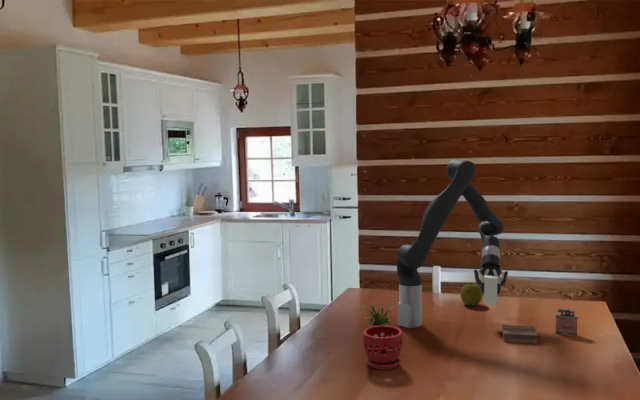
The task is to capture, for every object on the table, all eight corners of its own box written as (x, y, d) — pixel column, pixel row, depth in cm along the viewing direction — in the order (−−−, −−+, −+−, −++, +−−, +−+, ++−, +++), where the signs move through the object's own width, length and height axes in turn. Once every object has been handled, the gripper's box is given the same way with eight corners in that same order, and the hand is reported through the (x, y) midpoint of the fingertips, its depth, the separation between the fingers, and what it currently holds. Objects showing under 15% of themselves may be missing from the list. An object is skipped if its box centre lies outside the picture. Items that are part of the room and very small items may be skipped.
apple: (465, 301, 291) (465, 278, 290) (485, 304, 286) (485, 281, 285) (457, 305, 283) (457, 282, 282) (477, 308, 278) (477, 285, 277)
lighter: (577, 334, 238) (578, 309, 237) (577, 336, 235) (577, 311, 234) (555, 331, 241) (555, 307, 240) (554, 334, 238) (555, 309, 237)
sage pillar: (496, 305, 246) (497, 278, 245) (483, 304, 247) (484, 277, 246) (496, 302, 251) (497, 275, 250) (483, 301, 252) (484, 275, 251)
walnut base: (537, 343, 227) (537, 335, 227) (503, 341, 230) (503, 333, 230) (534, 334, 239) (534, 326, 238) (502, 332, 242) (502, 324, 241)
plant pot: (362, 358, 214) (362, 325, 213) (400, 358, 213) (400, 324, 212) (364, 372, 201) (363, 336, 200) (404, 372, 200) (404, 336, 199)
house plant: (351, 348, 225) (351, 304, 223) (362, 337, 238) (361, 296, 236) (389, 352, 220) (389, 307, 219) (398, 340, 233) (398, 298, 232)
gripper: (473, 252, 257) (472, 286, 246) (509, 254, 253) (509, 289, 242) (473, 262, 262) (472, 296, 251) (507, 264, 259) (508, 299, 248)
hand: (490, 292), depth 247 cm, fingers closed on sage pillar, 5 cm apart
